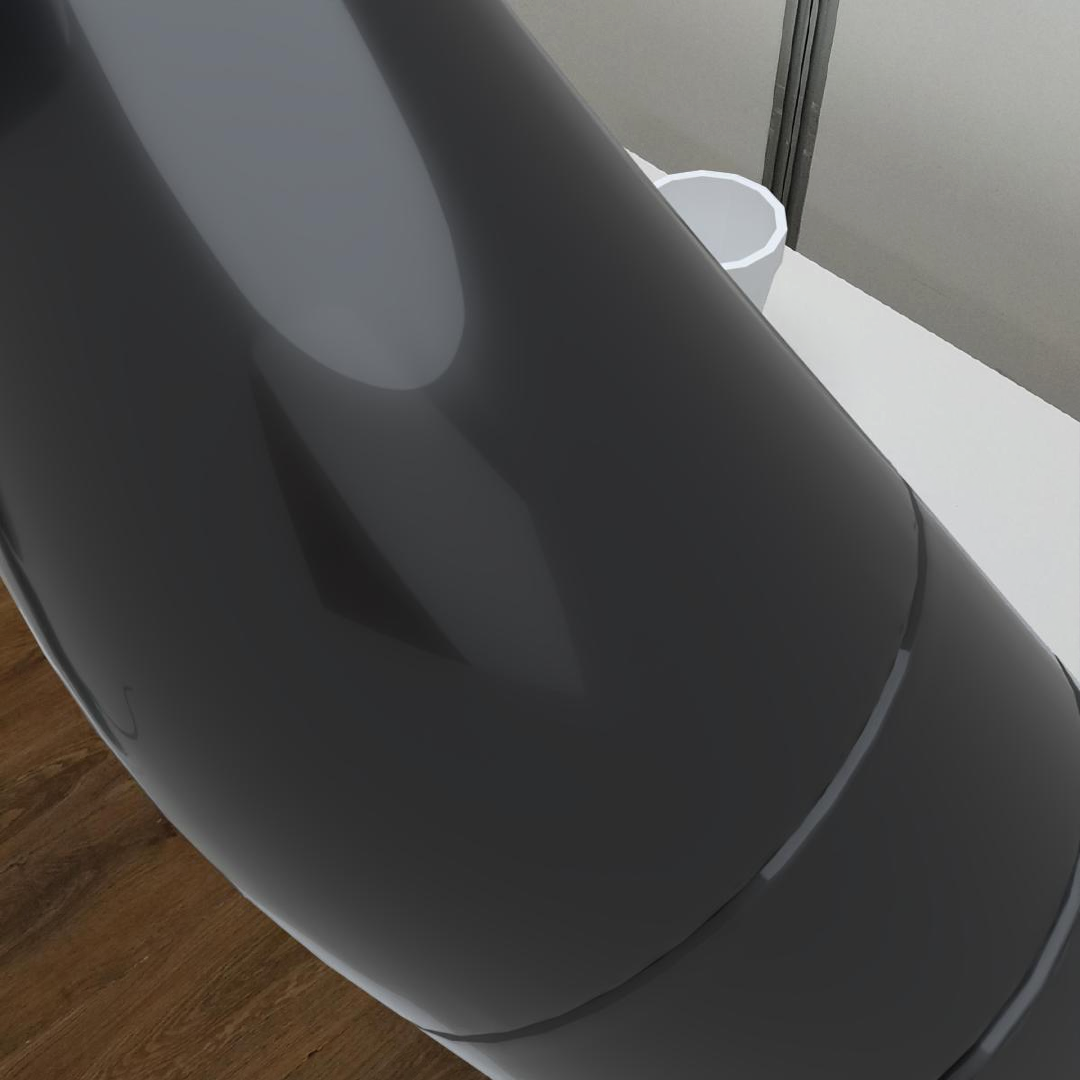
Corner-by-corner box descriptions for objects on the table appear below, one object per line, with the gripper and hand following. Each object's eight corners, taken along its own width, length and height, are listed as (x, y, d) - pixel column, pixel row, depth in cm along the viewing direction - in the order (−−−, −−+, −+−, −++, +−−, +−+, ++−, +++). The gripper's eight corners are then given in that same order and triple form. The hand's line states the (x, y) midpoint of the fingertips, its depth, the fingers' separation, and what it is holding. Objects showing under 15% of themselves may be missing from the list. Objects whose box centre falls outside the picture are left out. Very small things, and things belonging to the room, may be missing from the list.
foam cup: (606, 416, 73) (606, 258, 62) (636, 323, 78) (642, 162, 67) (750, 441, 71) (775, 282, 60) (771, 343, 76) (798, 181, 66)
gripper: (930, 608, 32) (716, 547, 48) (453, 771, 29) (400, 647, 46) (983, 845, 33) (756, 706, 49) (529, 1021, 30) (450, 812, 47)
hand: (586, 678), depth 47 cm, fingers closed on pill bottle, 5 cm apart
